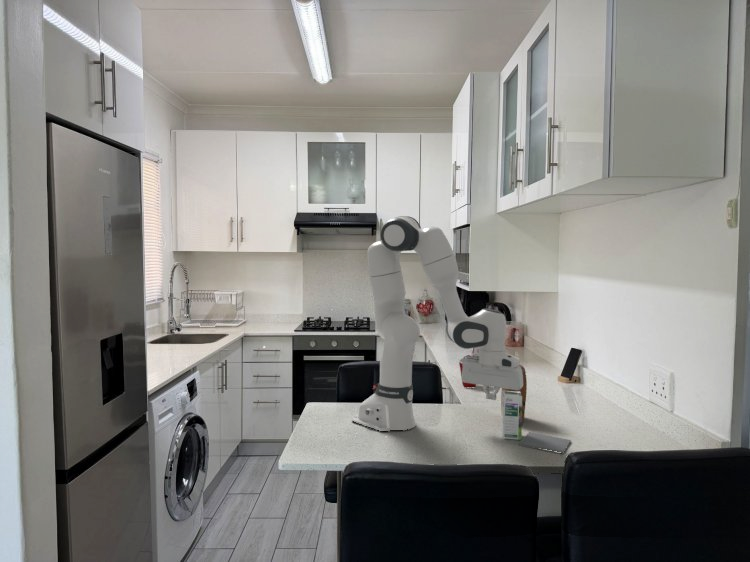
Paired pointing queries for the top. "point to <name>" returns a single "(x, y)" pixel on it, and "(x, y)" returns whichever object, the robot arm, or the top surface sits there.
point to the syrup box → (511, 415)
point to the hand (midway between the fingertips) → (491, 399)
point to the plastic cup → (461, 375)
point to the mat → (545, 442)
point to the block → (522, 390)
